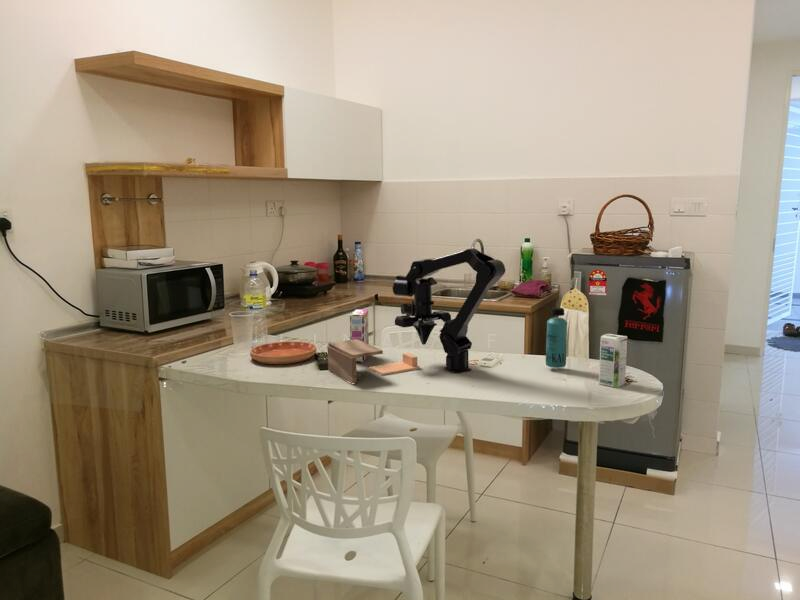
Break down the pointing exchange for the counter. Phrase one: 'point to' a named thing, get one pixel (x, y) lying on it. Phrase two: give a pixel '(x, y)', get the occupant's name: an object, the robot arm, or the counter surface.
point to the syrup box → (612, 360)
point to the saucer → (283, 352)
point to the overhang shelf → (348, 358)
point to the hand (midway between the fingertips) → (423, 344)
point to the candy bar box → (359, 328)
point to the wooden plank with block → (398, 365)
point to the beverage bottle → (556, 340)
